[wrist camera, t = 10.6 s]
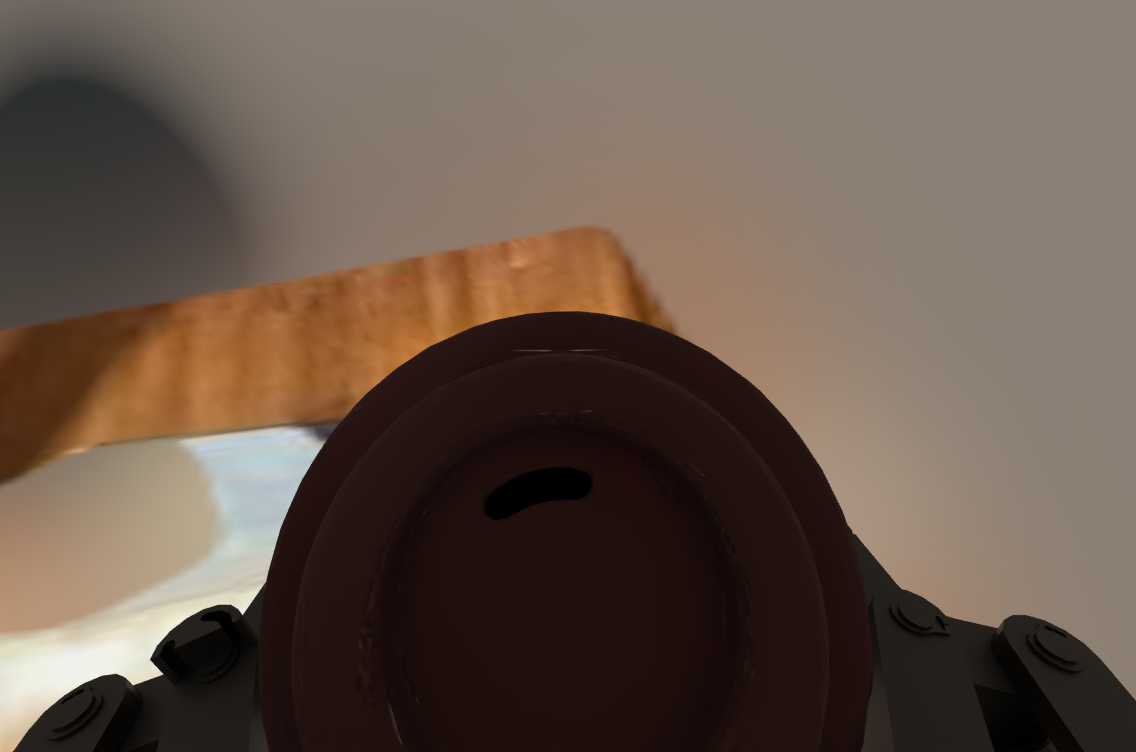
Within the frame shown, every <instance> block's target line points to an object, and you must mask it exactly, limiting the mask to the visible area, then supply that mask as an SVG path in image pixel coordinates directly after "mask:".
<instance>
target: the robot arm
mask: <svg viewBox="0 0 1136 752" xmlns="http://www.w3.org/2000/svg"><path fill="white" fill-rule="evenodd" d="M848 528H849V530H850V533H851V536H852V538H853V541H854V545H855V549H856V553H857V557H858V560H859V564H860V568H861V572H862V576H863V580H864V587H865V594H866V602H867V609H868V617H869V624H870V632H871V639H872V678H871V686H870V695H869V703H868V711H867V720H866V728H865V736H864V743H863V747H862V750H861V752H1136V701H1135V699H1134V698H1133V697H1132V696H1131V695H1130V693H1129V692H1128V691H1127V690H1126V689H1125V687H1124V686H1123V685H1122V684H1121V683H1120V682H1119V681H1118V679H1117V678H1116V677H1115V676H1114V675H1113V673H1112V672H1111V671H1110V670H1109V669H1108V667H1107V666H1106V665H1105V664H1104V663H1103V662H1102V660H1101V659H1100V658H1099V657H1098V656H1097V655H1096V654H1094V653H1093V652H1092V651H1091V650H1090V649H1089V648H1088V647H1087V646H1086V645H1085V644H1084V643H1083V642H1081V641H1080V640H1078V639H1077V638H1075V637H1074V636H1072V635H1071V634H1069V633H1068V632H1067V631H1065V630H1063V629H1061V628H1059V627H1057V626H1055V625H1053V624H1051V623H1048V622H1047V621H1045V620H1041V619H1038V618H1034V617H1031V616H1027V615H1012V616H1010V617H1008V618H1007V619H1005V620H1004V621H1003V622H1002V624H1001V625H1000V626H999V628H994V627H989V626H985V625H980V624H976V623H972V622H967V621H963V620H958V619H954V618H951V617H947V616H945V615H944V614H943V613H942V612H941V611H940V610H939V608H937V607H936V606H934V605H933V604H932V603H930V602H929V601H927V600H926V599H924V598H923V597H921V596H919V595H916V594H914V593H912V592H909V591H907V590H903V589H901V588H900V587H899V586H898V585H897V584H896V583H895V582H894V580H893V579H892V578H891V577H890V575H889V574H888V573H887V572H886V571H885V570H884V568H883V567H882V566H881V565H880V563H879V562H878V561H877V560H876V559H875V557H874V556H873V555H872V554H871V553H870V552H869V550H868V549H867V548H866V547H865V546H864V544H863V543H862V542H861V541H860V540H859V538H858V537H857V536H856V535H855V534H853V533H852V530H851V529H850V527H849V526H848ZM265 585H266V583H265V584H264V586H263V587H262V588H261V590H260V591H259V593H258V594H257V596H256V597H255V598H254V600H253V601H252V603H251V604H250V606H249V607H248V608H247V610H246V611H245V613H244V614H243V616H242V614H241V613H240V611H239V610H238V609H237V608H235V607H234V606H232V605H216V606H213V607H210V608H206V609H203V610H201V611H199V612H198V613H196V614H194V615H192V616H190V617H188V618H186V619H185V620H184V621H183V622H181V623H180V624H179V625H177V626H176V627H175V628H174V629H172V630H171V631H170V632H169V633H168V634H167V635H166V636H165V638H164V639H163V640H162V641H161V642H160V643H159V644H158V645H157V647H156V649H155V651H154V653H153V655H152V657H151V659H150V660H151V661H152V662H153V663H154V665H155V666H156V667H157V668H158V669H159V670H160V671H161V672H162V673H163V674H164V675H161V676H158V677H155V678H153V679H150V680H147V681H144V682H141V683H139V684H136V685H132V684H131V683H130V682H129V681H128V680H127V679H126V678H125V677H123V676H120V675H118V674H111V675H104V676H100V677H98V678H96V679H93V680H91V681H88V682H86V683H84V684H82V685H80V686H79V687H77V688H76V689H74V690H72V691H71V692H69V693H68V694H66V695H64V696H63V697H62V698H61V699H59V700H58V701H57V702H56V703H55V704H53V705H52V706H51V707H50V708H49V709H48V710H46V711H45V712H44V713H43V714H42V715H41V716H40V718H39V719H38V720H37V721H36V722H35V723H34V724H33V726H32V727H31V728H30V729H29V730H28V732H27V733H26V734H25V736H24V737H23V739H22V740H21V741H20V743H19V744H18V746H17V747H16V748H15V750H14V751H13V752H269V750H268V745H267V740H266V736H265V731H264V727H263V722H262V717H261V710H260V698H259V678H258V643H259V632H260V622H261V612H262V603H263V595H264V589H265Z"/></svg>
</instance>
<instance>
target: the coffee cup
mask: <svg viewBox="0 0 1136 752" xmlns="http://www.w3.org/2000/svg"><path fill="white" fill-rule="evenodd" d="M258 678H259V698H260V710H261V717H262V722H263V727H264V731H265V736H266V740H267V745H268V750H269V752H861V750H862V747H863V743H864V736H865V728H866V720H867V711H868V703H869V695H870V686H871V678H872V639H871V632H870V624H869V617H868V609H867V602H866V594H865V587H864V580H863V576H862V572H861V568H860V564H859V560H858V557H857V553H856V549H855V545H854V541H853V538H852V536H851V533H850V530H849V528H848V525H847V522H846V520H845V517H844V514H843V511H842V509H841V507H840V505H839V503H838V501H837V499H836V497H835V495H834V493H833V491H832V489H831V487H830V485H829V483H828V481H827V479H826V477H825V475H824V473H823V470H822V469H821V467H820V466H819V464H818V463H817V461H816V460H815V458H814V457H813V455H812V454H811V452H810V451H809V449H808V448H807V446H806V445H805V443H804V442H803V440H802V439H801V437H800V436H799V435H798V434H797V432H796V431H795V430H794V428H793V427H792V426H791V424H790V423H789V422H788V421H787V419H786V418H785V417H784V416H783V415H782V414H781V413H780V412H779V411H778V409H777V408H776V407H775V406H774V405H773V404H772V403H771V402H770V401H769V400H768V399H767V398H766V397H765V396H764V394H763V393H762V392H761V391H760V390H758V389H757V388H756V387H755V386H754V385H753V384H752V383H751V382H749V381H748V380H747V379H746V378H744V377H742V376H741V375H740V374H738V373H737V372H736V371H734V370H733V369H732V368H730V367H729V366H728V365H726V364H725V363H723V362H722V361H721V360H719V359H718V358H717V357H715V356H714V355H712V354H711V353H709V352H708V351H706V350H704V349H702V348H700V347H698V346H696V345H694V344H692V343H691V342H689V341H687V340H685V339H683V338H680V337H678V336H676V335H674V334H672V333H669V332H667V331H665V330H662V329H660V328H657V327H654V326H651V325H648V324H645V323H642V322H638V321H635V320H631V319H628V318H623V317H617V316H612V315H607V314H600V313H590V312H580V311H571V312H544V313H531V314H524V315H519V316H514V317H509V318H504V319H499V320H494V321H491V322H488V323H485V324H481V325H478V326H475V327H472V328H470V329H467V330H465V331H463V332H461V333H459V334H456V335H454V336H452V337H450V338H448V339H445V340H443V341H441V342H439V343H437V344H434V345H432V346H430V347H428V348H427V349H425V350H424V351H422V352H421V353H419V354H418V355H416V356H415V357H413V358H412V359H410V360H409V361H407V362H406V363H404V364H403V365H401V366H400V367H398V368H397V369H395V370H394V371H393V372H392V373H391V374H389V375H388V376H387V377H386V378H385V379H383V380H382V381H381V382H380V383H379V384H377V385H376V386H375V387H374V388H373V389H371V390H370V391H369V392H368V393H367V394H366V395H365V396H364V397H363V398H362V399H361V400H360V401H359V402H358V403H357V404H356V405H355V406H354V407H353V409H352V410H351V411H350V412H349V413H348V415H347V416H346V417H345V418H344V419H343V421H342V422H341V423H340V424H339V425H338V426H337V428H336V429H335V430H334V431H333V432H332V434H331V435H330V436H329V438H328V439H327V441H326V442H325V444H324V445H323V447H322V448H321V450H320V451H319V453H318V454H317V456H316V457H315V459H314V461H313V462H312V464H311V466H310V467H309V469H308V471H307V472H306V474H305V476H304V477H303V479H302V481H301V483H300V485H299V487H298V490H297V492H296V494H295V496H294V498H293V501H292V503H291V505H290V507H289V510H288V512H287V514H286V517H285V519H284V521H283V524H282V526H281V529H280V532H279V536H278V539H277V543H276V546H275V550H274V554H273V557H272V561H271V564H270V568H269V572H268V576H267V580H266V585H265V589H264V595H263V603H262V612H261V622H260V632H259V643H258Z"/></svg>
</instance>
